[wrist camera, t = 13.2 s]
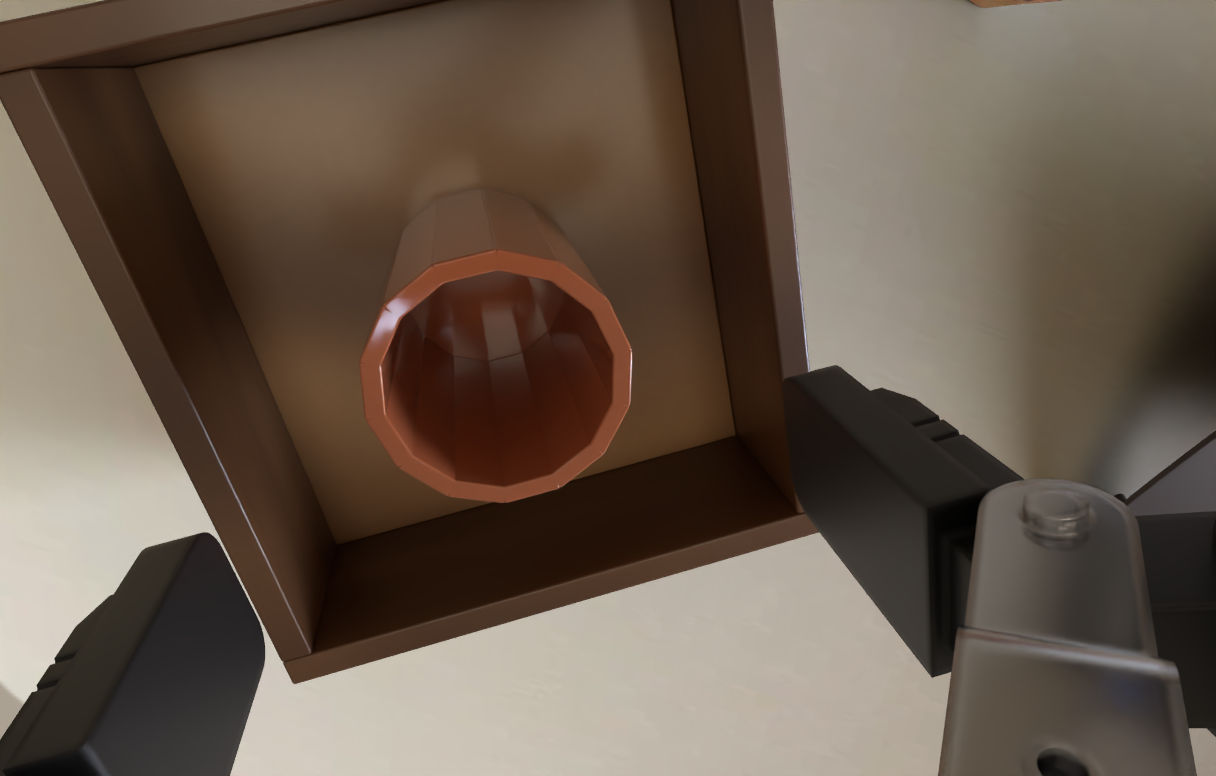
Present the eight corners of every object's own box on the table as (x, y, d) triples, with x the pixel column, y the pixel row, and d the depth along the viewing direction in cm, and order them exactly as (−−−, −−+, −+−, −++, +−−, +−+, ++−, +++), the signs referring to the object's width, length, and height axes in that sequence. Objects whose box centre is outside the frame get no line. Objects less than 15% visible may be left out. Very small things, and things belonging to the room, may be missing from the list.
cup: (363, 213, 21) (316, 292, 14) (553, 168, 21) (606, 221, 14) (420, 384, 23) (406, 531, 16) (592, 340, 24) (654, 462, 16)
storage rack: (188, 45, 25) (-38, 28, 14) (624, -48, 27) (760, -137, 15) (351, 457, 32) (292, 685, 20) (694, 366, 33) (827, 531, 22)
